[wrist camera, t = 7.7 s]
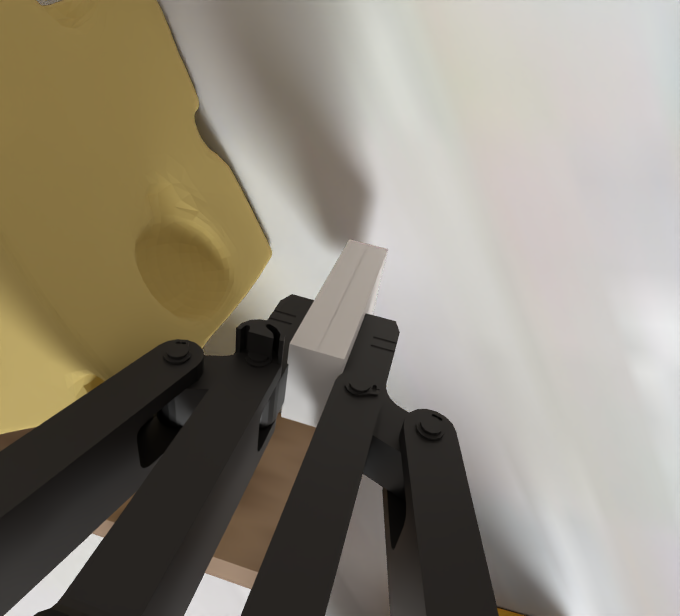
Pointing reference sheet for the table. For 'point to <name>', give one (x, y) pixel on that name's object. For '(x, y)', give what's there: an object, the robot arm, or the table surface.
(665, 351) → the table surface
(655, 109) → the table surface
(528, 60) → the table surface
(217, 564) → the shelf
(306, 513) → the robot arm
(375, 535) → the table surface
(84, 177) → the cheese
